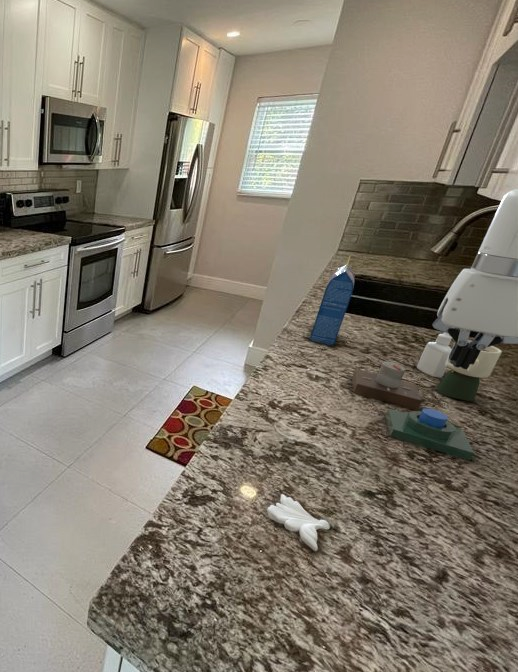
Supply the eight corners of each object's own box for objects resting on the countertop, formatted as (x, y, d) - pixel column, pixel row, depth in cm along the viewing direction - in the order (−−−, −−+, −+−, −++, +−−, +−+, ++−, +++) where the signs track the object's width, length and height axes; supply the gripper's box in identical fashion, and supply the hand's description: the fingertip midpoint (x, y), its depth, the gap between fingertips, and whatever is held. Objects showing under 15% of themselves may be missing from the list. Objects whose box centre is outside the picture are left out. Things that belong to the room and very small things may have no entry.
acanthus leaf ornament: (314, 555, 55) (319, 545, 54) (260, 521, 60) (263, 511, 59) (332, 526, 60) (336, 516, 59) (280, 497, 64) (283, 487, 64)
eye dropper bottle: (419, 375, 105) (438, 332, 100) (414, 366, 109) (433, 325, 105) (442, 380, 102) (463, 336, 98) (437, 371, 107) (457, 329, 102)
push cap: (441, 421, 79) (446, 412, 78) (445, 430, 76) (450, 421, 76) (416, 415, 81) (420, 406, 80) (419, 423, 78) (424, 414, 78)
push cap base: (457, 437, 80) (465, 420, 79) (469, 463, 74) (479, 444, 72) (384, 417, 86) (391, 400, 85) (389, 438, 80) (397, 421, 78)
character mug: (432, 382, 101) (454, 334, 97) (473, 393, 97) (499, 343, 92) (432, 399, 94) (456, 347, 89) (477, 412, 89) (505, 359, 85)
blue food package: (307, 341, 122) (334, 259, 113) (312, 330, 131) (337, 253, 122) (333, 348, 118) (363, 263, 109) (336, 336, 127) (363, 257, 118)
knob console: (410, 394, 95) (415, 382, 94) (416, 412, 88) (422, 399, 87) (351, 379, 101) (355, 368, 100) (352, 394, 94) (357, 383, 93)
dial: (371, 377, 96) (378, 359, 94) (391, 380, 95) (398, 361, 93) (381, 386, 92) (389, 367, 91) (402, 389, 92) (410, 370, 90)
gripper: (565, 270, 66) (511, 370, 73) (439, 256, 74) (401, 347, 81) (588, 280, 61) (527, 387, 67) (448, 263, 69) (406, 360, 75)
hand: (458, 365), depth 74 cm, fingers closed
